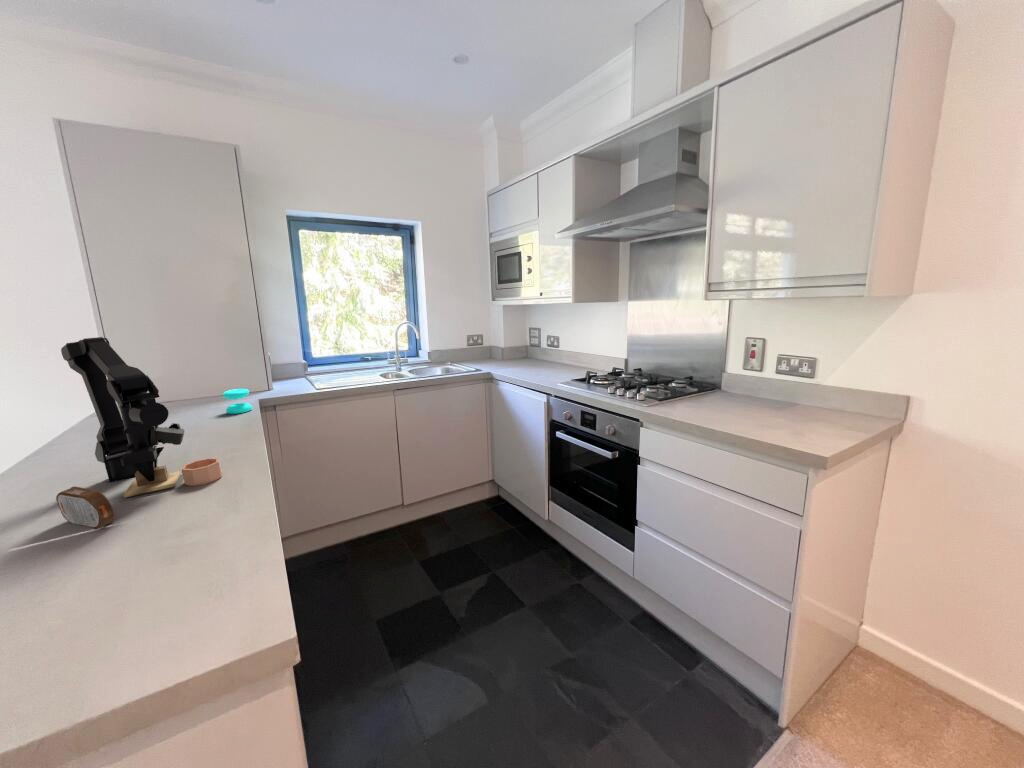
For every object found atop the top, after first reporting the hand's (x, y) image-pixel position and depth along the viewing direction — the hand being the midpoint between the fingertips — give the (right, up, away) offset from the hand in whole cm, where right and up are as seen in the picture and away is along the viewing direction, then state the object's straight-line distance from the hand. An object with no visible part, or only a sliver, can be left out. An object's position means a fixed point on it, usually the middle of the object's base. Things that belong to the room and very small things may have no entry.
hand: (152, 479), depth 111 cm
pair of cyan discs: (-29, +12, +81) cm, 87 cm away
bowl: (+11, -1, +3) cm, 12 cm away
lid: (0, -2, 0) cm, 2 cm away
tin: (+1, -6, -17) cm, 19 cm away
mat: (0, -2, 0) cm, 2 cm away
